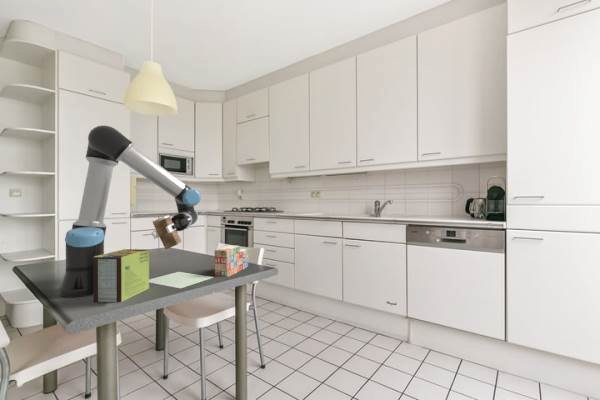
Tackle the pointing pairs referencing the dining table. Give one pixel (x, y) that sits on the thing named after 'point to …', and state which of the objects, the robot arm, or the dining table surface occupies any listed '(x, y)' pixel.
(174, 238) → the walnut block
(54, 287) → the dining table surface
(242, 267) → the multicolored rectangular box
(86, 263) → the robot arm
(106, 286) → the protein box
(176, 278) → the sage board
